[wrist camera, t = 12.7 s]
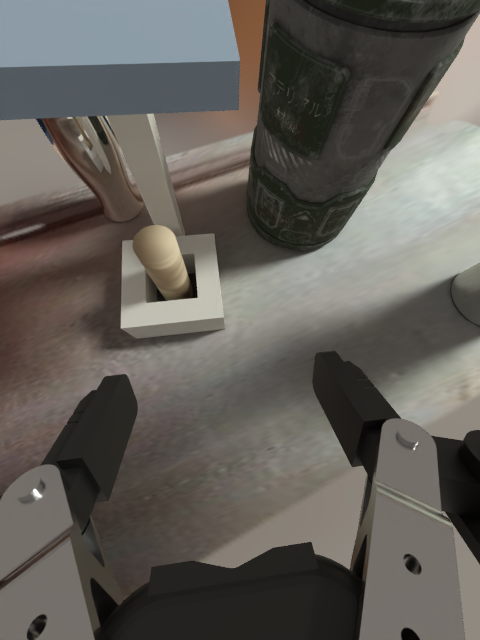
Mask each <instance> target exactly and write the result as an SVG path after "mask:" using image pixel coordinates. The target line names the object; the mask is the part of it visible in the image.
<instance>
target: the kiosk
mask: <svg viewBox="0 0 480 640" xmlns="http://www.w3.org/2000/svg"><path fill="white" fill-rule="evenodd" d="M239 75H240V59H239V53H238V48H237V43H236V39H235V33H234V28H233V24H232V19H231V14H230V9H229V4H228V0H0V120H13V119H38V118H61V117H85V116H107V118H108V120H109V123H110V125H111V127H112V130H113V132H114V134H115V136H116V139H117V141H118V143H119V146H120V148H121V150H122V153H123V155H124V157H125V159H126V162H127V164H128V166H129V169H130V171H131V173H132V176H133V178H134V180H135V182H136V185H137V187H138V189H139V192H140V194H141V196H142V199H143V201H144V203H145V205H146V208H147V210H148V212H149V215H150V217H151V219H152V221H153V224H154V225H161V226H165V227H167V228H169V229H170V230H171V231H172V232H173V233H174V235H175V237H176V240H177V243H178V246H179V249H180V252H181V255H182V258H183V261H184V264H185V267H186V270H187V273H188V274H194V273H196V281H197V293H198V298H190V299H180V300H171V301H161V302H157V286H156V285H155V283H154V282H153V280H152V279H151V277H150V275H149V274H148V272H147V271H146V269H145V268H144V266H143V265H142V263H141V262H140V260H139V259H138V257H137V255H136V254H135V252H134V250H133V246H132V244H133V240H124V241H122V291H121V329H122V330H124V331H126V332H127V333H129V334H130V335H132V336H133V337H135V338H136V339H140V338H149V337H158V336H166V335H175V334H184V333H193V332H202V331H211V330H220V329H225V328H224V315H223V306H222V298H221V289H220V280H219V271H218V263H217V254H216V245H215V236H214V233H210V234H197V235H186V234H185V230H184V227H183V223H182V219H181V215H180V212H179V208H178V204H177V200H176V197H175V193H174V189H173V185H172V182H171V178H170V174H169V170H168V167H167V163H166V159H165V155H164V152H163V148H162V144H161V141H160V137H159V133H158V129H157V126H156V122H155V118H154V114H155V113H179V112H201V111H225V110H238V109H239V77H240V76H239Z"/></svg>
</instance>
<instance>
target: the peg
mask: <svg viewBox="0 0 480 640" xmlns="http://www.w3.org/2000/svg"><path fill="white" fill-rule="evenodd" d="M132 246H133V250H134V252H135V254H136V255H137V257H138V259H139V260H140V262H141V263H142V265H143V266H144V268H145V269H146V271H147V272H148V274H149V275H150V277H151V279H152V280H153V282H154V283H155V285H156V286H157V288H158V289H159V291H160V292H161V294H162V295H163V297H164V299H165V300H166V301H171V300H180V299H190V298H194V291H193V288H192V285H191V282H190V279H189V276H188V273H187V270H186V267H185V264H184V261H183V258H182V255H181V252H180V249H179V246H178V243H177V240H176V237H175V235H174V233H173V232H172V231H171V230H170V229H169V228H167V227H165V226H161V225H151V226H147V227H145V228H143V229H141V230H140V231H139V232H138V233H137V234H136V235H135V237H134V239H133V244H132Z"/></svg>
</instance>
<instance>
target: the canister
mask: <svg viewBox="0 0 480 640" xmlns="http://www.w3.org/2000/svg"><path fill="white" fill-rule="evenodd" d="M479 14H480V0H266V7H265V18H264V28H263V39H262V50H261V61H260V73H259V82H258V92H259V93H260V102H259V112H258V121H257V126H256V127H255V129H254V134H253V140H252V147H251V156H250V167H249V178H248V190H247V210H248V215H249V217H250V220H251V222H252V224H253V225H254V226H255V228H256V229H257V231H258V232H259V233H260V234H261V235H262V236H263V237H264V238H266V239H267V240H269V241H270V242H274V243H276V244H279V245H281V246H284V247H288V248H292V249H301V250H309V249H313V248H317V247H320V246H323V245H325V244H327V243H329V242H330V241H332V240H333V239H334V238H335V237H337V235H338V234H339V233H340V231H341V230H342V229H343V227H344V226H345V225H346V223H347V222H348V220H349V219H350V217H351V216H352V214H353V213H354V211H355V210H356V208H357V207H358V205H359V204H360V202H361V201H362V199H363V198H364V196H365V195H366V193H367V192H368V190H369V189H370V187H371V186H372V184H373V183H374V181H375V177H376V174H377V171H378V169H379V167H380V166H381V164H382V163H383V161H384V160H385V158H386V157H387V155H388V154H389V152H390V151H391V149H393V148H394V147H395V146H396V145H397V144H398V143H399V142H400V141H401V139H402V138H403V136H404V135H405V133H406V132H407V130H408V129H409V127H410V126H411V124H412V123H413V121H414V120H415V118H416V117H417V115H418V114H419V112H420V111H421V109H422V108H423V106H424V105H425V103H426V102H427V100H428V99H429V97H430V95H431V94H432V92H433V91H434V89H435V88H436V86H437V85H438V83H439V82H440V80H441V79H442V77H443V76H444V74H445V73H446V71H447V70H448V68H449V67H450V65H451V64H452V62H453V61H454V59H455V58H456V56H457V55H458V53H459V51H460V49H461V47H462V45H463V42H464V38H465V35H466V34H467V32H468V31H469V29H470V27H471V26H472V24H473V23H474V22H475V20H476V18H477V17H478V15H479Z"/></svg>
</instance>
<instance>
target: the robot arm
mask: <svg viewBox="0 0 480 640" xmlns="http://www.w3.org/2000/svg"><path fill="white" fill-rule="evenodd" d="M451 292H452V297H453V301H454V303H455V305H456V307H457V308H458V309H459V311H460V312H461V313H462V314H463V315H464V316H465V317H466V318H467V319H469V320H470V321H471V322H473V323H475V324H477V325H479V326H480V263H478V264H476V265H475V266H473V267H471V268H469V269H467V270H465V271H464V272H462V273H460V274H458V275H457V276H456V278H455V279H454V281H453V283H452V287H451ZM313 388H314V391H315V394H316V396H317V398H318V400H319V402H320V404H321V406H322V408H323V410H324V412H325V414H326V416H327V418H328V420H329V422H330V424H331V426H332V428H333V430H334V432H335V434H336V436H337V438H338V440H339V442H340V444H341V446H342V448H343V450H344V452H345V454H346V456H347V458H348V460H349V462H350V464H351V466H352V467H356V466H364V468H365V470H366V472H367V477H366V481H365V487H364V494H363V500H362V506H361V513H360V519H359V525H358V531H357V536H356V540H355V545H354V549H353V554H352V559H351V564H350V570H349V569H347V568H346V567H344V566H343V565H341V564H339V563H337V562H335V561H334V560H332V559H329V558H326V557H324V556H320V555H316V554H315V553H314V550H313V546H312V543H311V542H307V543H301V544H295V545H288V546H283V547H276V548H272V549H270V550H268V551H267V552H265V553H263V554H261V555H259V556H257V557H255V558H254V559H252V560H250V561H248V562H246V563H244V564H243V565H241V566H239V567H237V568H225V567H220V566H215V565H210V564H206V563H201V562H196V561H188V562H181V563H175V564H169V565H162V566H156V567H152V569H151V575H150V581H149V582H148V583H146V584H144V585H143V586H142V587H140V588H139V589H137V590H136V591H134V592H133V593H132V594H131V595H130V596H128V597H127V598H126V599H125V600H123V597H122V594H121V592H120V590H119V587H118V585H117V583H116V581H115V580H114V578H113V576H112V573H111V571H110V568H109V565H108V562H107V559H106V556H105V553H104V550H103V547H102V544H101V541H100V538H99V535H98V532H97V529H96V526H95V523H94V520H93V517H92V515H91V512H92V509H93V507H94V504H95V502H101V501H108V500H109V497H110V494H111V491H112V488H113V485H114V482H115V479H116V476H117V473H118V470H119V467H120V464H121V461H122V458H123V455H124V452H125V449H126V446H127V443H128V440H129V437H130V434H131V431H132V428H133V425H134V422H135V419H136V416H137V410H138V406H137V400H136V397H135V395H134V392H133V389H132V387H131V384H130V381H129V378H128V376H127V375H126V374H122V375H113V376H106V377H104V378H103V380H102V382H101V384H100V385H99V387H98V389H97V390H93V391H91V392H90V393H89V394H88V395H87V396H86V397H84V398H83V399H82V400H81V401H80V403H79V404H78V406H77V408H76V409H75V411H74V412H73V415H72V416H71V417H70V419H69V420H68V422H67V425H65V427H64V429H63V430H62V432H61V433H60V435H59V437H58V438H57V440H56V441H55V443H54V445H53V446H52V448H51V449H50V451H49V453H48V454H47V456H46V458H45V459H44V461H43V462H42V464H41V465H40V466H38V467H36V468H33V469H31V470H29V471H28V472H26V473H24V474H23V475H22V476H20V477H19V478H18V479H17V480H15V481H14V482H13V483H12V484H11V485H10V486H9V488H8V489H7V490H6V491H5V493H4V494H3V495H1V496H0V640H465V632H464V623H463V614H462V605H461V595H460V587H459V578H458V568H457V559H456V549H455V540H454V532H453V527H452V524H451V522H452V523H453V525H454V526H455V528H456V529H457V531H458V532H459V534H460V535H461V537H462V538H463V540H464V541H465V543H466V544H467V546H468V547H469V549H470V550H471V552H472V553H473V555H474V556H475V558H476V559H477V561H478V562H479V564H480V430H474V431H470V432H469V433H467V434H466V436H465V438H464V440H463V441H461V440H455V439H448V438H442V437H435V436H431V435H430V434H429V433H428V432H426V430H424V429H423V428H422V427H420V426H419V425H417V424H415V423H413V422H411V421H408V420H404V419H401V418H400V417H399V415H398V414H397V413H396V412H395V410H394V409H393V408H392V407H391V406H390V404H389V403H388V402H387V401H386V400H385V398H384V397H383V396H382V395H381V393H380V392H379V391H378V390H377V389H376V387H375V388H374V385H373V384H372V382H371V381H370V380H368V378H367V376H366V375H365V374H364V373H363V372H362V370H361V369H360V368H358V367H357V366H355V365H354V364H352V363H351V362H349V361H346V362H343V360H342V359H341V358H340V356H339V355H338V354H337V353H336V352H335V351H328V352H319V353H316V355H315V362H314V372H313ZM442 511H445V513H446V514H447V516H448V517H449V519H450V520H451V522H450V520H449V519H448V518H447V517H445V516H443V514H442Z"/></svg>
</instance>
